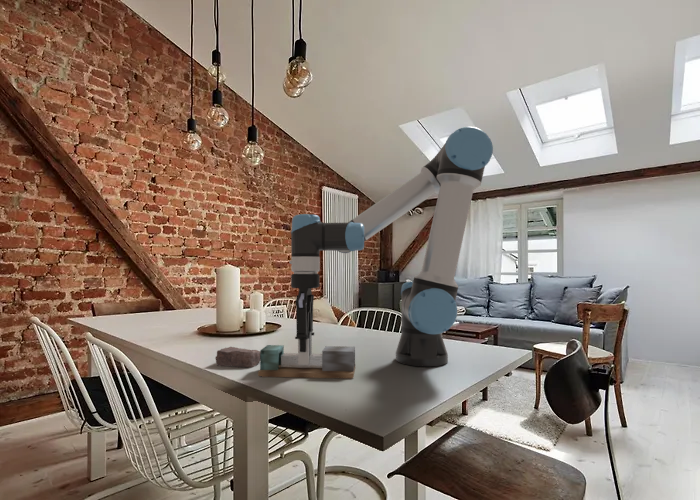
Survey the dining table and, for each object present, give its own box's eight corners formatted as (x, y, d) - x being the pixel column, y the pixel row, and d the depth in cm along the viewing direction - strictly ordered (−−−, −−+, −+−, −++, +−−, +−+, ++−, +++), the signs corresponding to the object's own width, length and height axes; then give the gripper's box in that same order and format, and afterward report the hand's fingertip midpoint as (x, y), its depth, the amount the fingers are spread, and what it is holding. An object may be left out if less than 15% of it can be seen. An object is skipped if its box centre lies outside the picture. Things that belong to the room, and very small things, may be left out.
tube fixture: (355, 368, 107) (355, 345, 107) (353, 378, 97) (353, 353, 97) (269, 366, 108) (269, 343, 109) (258, 376, 98) (258, 351, 99)
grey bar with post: (343, 365, 104) (343, 331, 104) (342, 368, 101) (342, 333, 101) (283, 364, 105) (284, 330, 105) (281, 367, 102) (281, 332, 102)
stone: (252, 369, 106) (252, 351, 106) (212, 367, 109) (212, 350, 109) (266, 361, 115) (266, 345, 115) (229, 359, 118) (229, 344, 118)
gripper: (297, 272, 112) (297, 355, 111) (284, 273, 96) (283, 370, 95) (323, 272, 112) (323, 355, 111) (314, 273, 96) (314, 370, 95)
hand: (304, 362), depth 103 cm, fingers closed on grey bar with post, 3 cm apart
